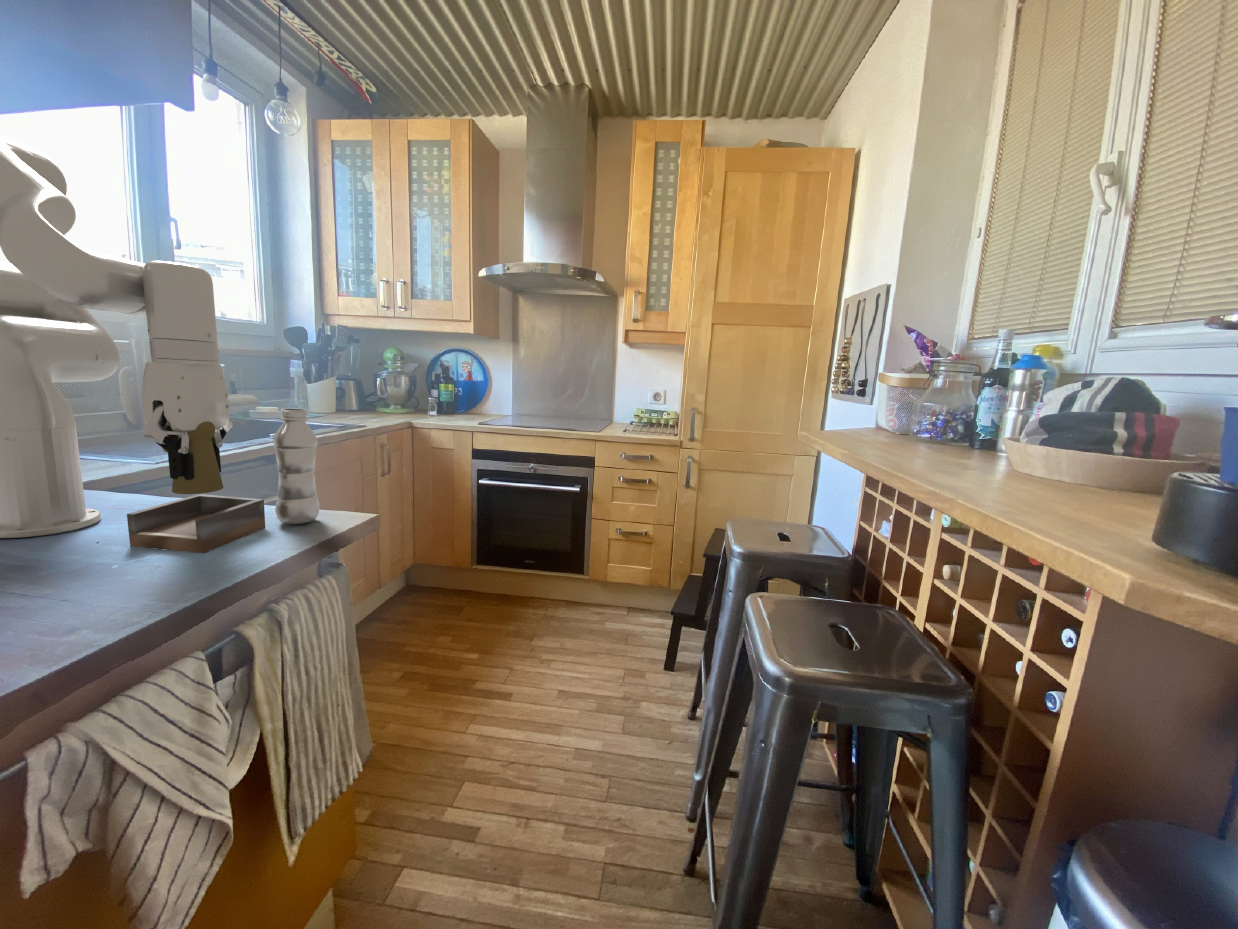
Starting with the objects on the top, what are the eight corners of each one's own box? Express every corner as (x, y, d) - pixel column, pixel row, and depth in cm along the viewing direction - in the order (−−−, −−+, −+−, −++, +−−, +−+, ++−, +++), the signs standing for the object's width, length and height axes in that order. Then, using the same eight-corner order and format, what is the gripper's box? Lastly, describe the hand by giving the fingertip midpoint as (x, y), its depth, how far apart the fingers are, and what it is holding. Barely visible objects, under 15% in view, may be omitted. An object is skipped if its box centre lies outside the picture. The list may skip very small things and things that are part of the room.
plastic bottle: (266, 526, 84) (260, 409, 80) (294, 515, 91) (289, 406, 87) (303, 530, 84) (298, 412, 80) (328, 518, 90) (325, 409, 87)
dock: (130, 547, 72) (126, 513, 71) (201, 522, 83) (199, 494, 82) (204, 553, 71) (202, 520, 71) (265, 527, 83) (263, 499, 82)
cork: (193, 496, 72) (187, 421, 70) (160, 491, 73) (153, 417, 71) (233, 487, 78) (228, 418, 76) (202, 483, 79) (196, 414, 77)
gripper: (208, 354, 80) (217, 464, 83) (99, 348, 64) (116, 486, 67) (254, 357, 80) (261, 467, 83) (156, 352, 64) (170, 490, 67)
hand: (196, 474), depth 75 cm, fingers closed on cork, 4 cm apart
